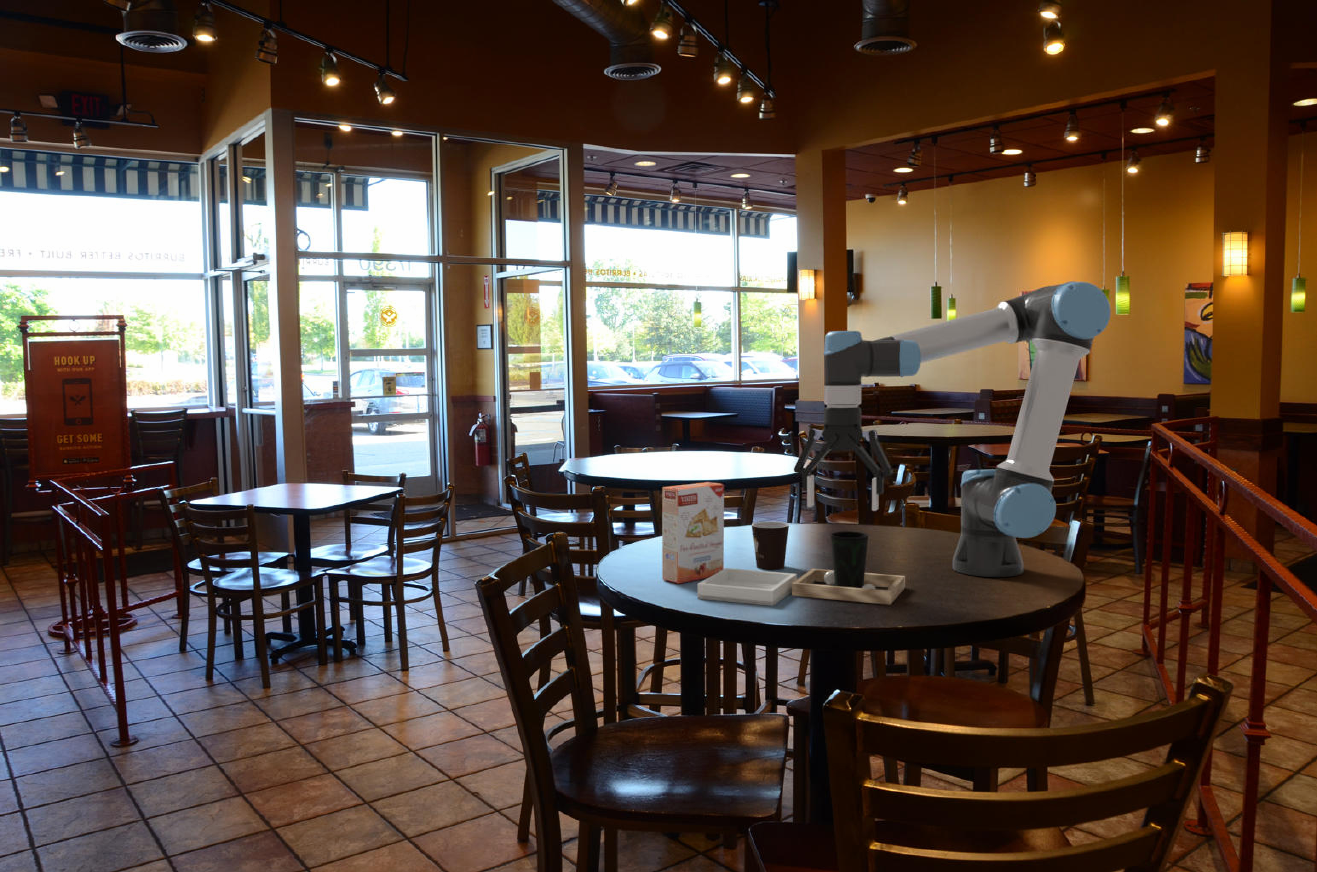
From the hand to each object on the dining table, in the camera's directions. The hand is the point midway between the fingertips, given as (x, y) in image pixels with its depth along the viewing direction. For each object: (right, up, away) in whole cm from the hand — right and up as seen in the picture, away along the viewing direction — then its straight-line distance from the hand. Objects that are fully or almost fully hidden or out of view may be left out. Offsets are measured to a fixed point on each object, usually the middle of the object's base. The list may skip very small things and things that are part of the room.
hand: (842, 508), depth 198 cm
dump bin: (-20, -18, 0) cm, 26 cm away
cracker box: (-30, -17, +14) cm, 38 cm away
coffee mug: (-12, -16, +26) cm, 32 cm away
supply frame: (+1, -17, 0) cm, 17 cm away
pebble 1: (-1, -17, +6) cm, 18 cm away
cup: (+1, -18, 0) cm, 18 cm away
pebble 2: (+4, -18, -6) cm, 19 cm away
